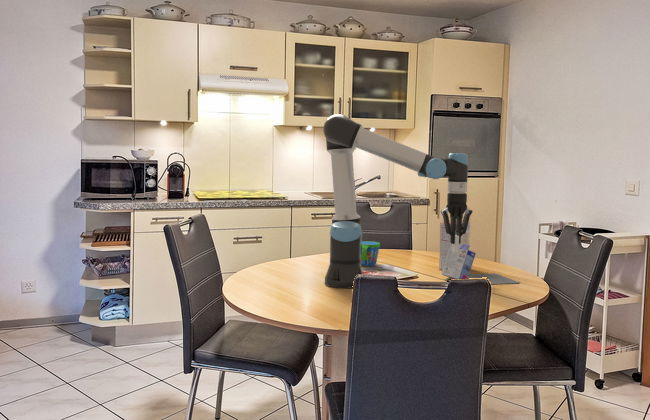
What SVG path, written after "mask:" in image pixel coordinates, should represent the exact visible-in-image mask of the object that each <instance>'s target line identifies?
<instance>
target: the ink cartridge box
mask: <svg viewBox="0 0 650 420" xmlns="http://www.w3.org/2000/svg"><path fill="white" fill-rule="evenodd" d="M463 246H467V248H464V247H463ZM470 246H471V245H470V244H469V245H464V244H463V245H462V246H461V247H460V248H459V251H458V252H452V247H450V248H449V252H448V255H447V258H446V261H445V264H444V268H443V270H441V275H442V276H444V277H447V278H450V279H454V280H457V279H468V278H469V274H471V271H472V267H473V265H474V264H473V263H474V261H475V258H476V254H477V253H476V252H475V251H472V250H470ZM468 248H469V250H467V249H468Z"/></svg>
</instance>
